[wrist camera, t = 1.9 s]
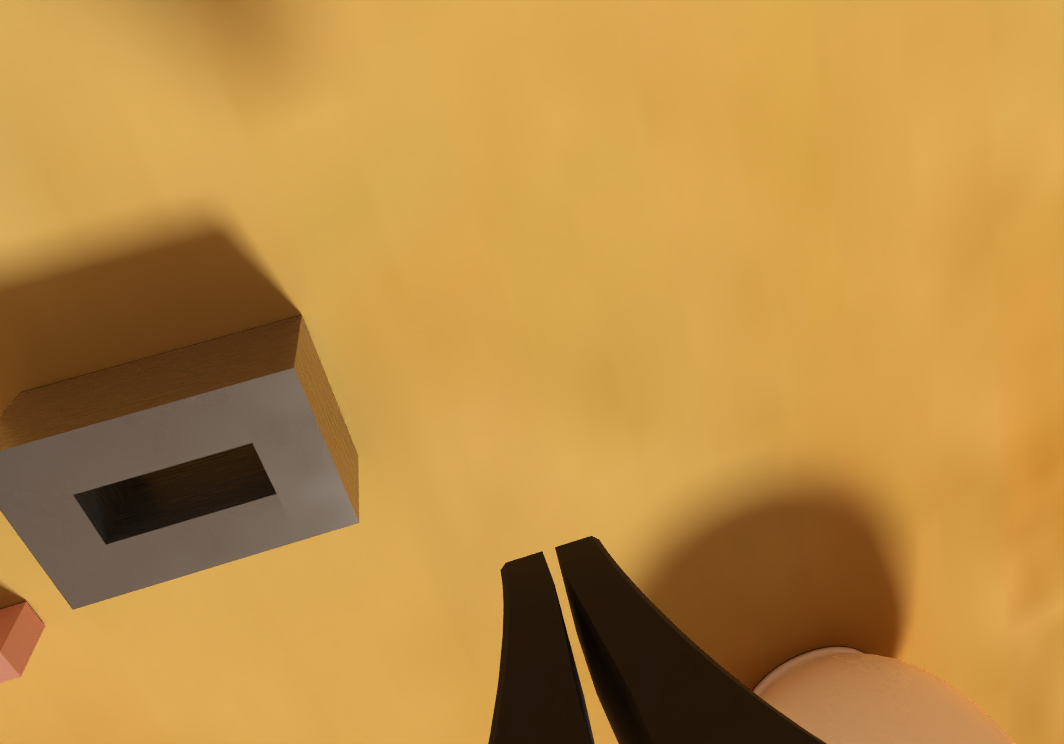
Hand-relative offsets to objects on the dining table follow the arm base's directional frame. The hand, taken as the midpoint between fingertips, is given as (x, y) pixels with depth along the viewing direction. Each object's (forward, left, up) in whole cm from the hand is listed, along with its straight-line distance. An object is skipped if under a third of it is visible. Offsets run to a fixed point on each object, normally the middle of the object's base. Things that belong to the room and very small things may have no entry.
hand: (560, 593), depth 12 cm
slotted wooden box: (-8, 0, -9) cm, 12 cm away
